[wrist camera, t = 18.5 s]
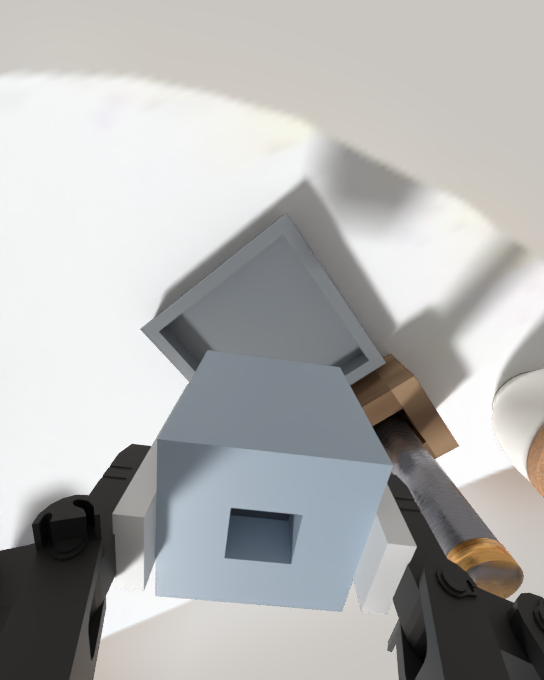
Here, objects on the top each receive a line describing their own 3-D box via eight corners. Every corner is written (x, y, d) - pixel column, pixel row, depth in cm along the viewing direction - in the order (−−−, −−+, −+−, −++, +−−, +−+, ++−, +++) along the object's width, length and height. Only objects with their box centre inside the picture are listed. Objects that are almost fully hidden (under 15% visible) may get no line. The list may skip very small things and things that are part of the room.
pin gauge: (355, 411, 27) (444, 579, 13) (384, 393, 26) (507, 549, 13) (373, 434, 27) (473, 613, 14) (401, 416, 27) (533, 586, 14)
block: (199, 458, 15) (155, 596, 9) (207, 350, 13) (157, 438, 7) (314, 471, 15) (341, 611, 9) (339, 367, 13) (393, 465, 7)
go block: (316, 400, 27) (325, 429, 23) (390, 353, 26) (414, 375, 22) (359, 454, 30) (374, 490, 25) (430, 414, 28) (459, 446, 24)
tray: (152, 320, 25) (140, 329, 22) (284, 215, 22) (286, 212, 20) (252, 430, 28) (250, 447, 26) (375, 351, 26) (386, 362, 23)
